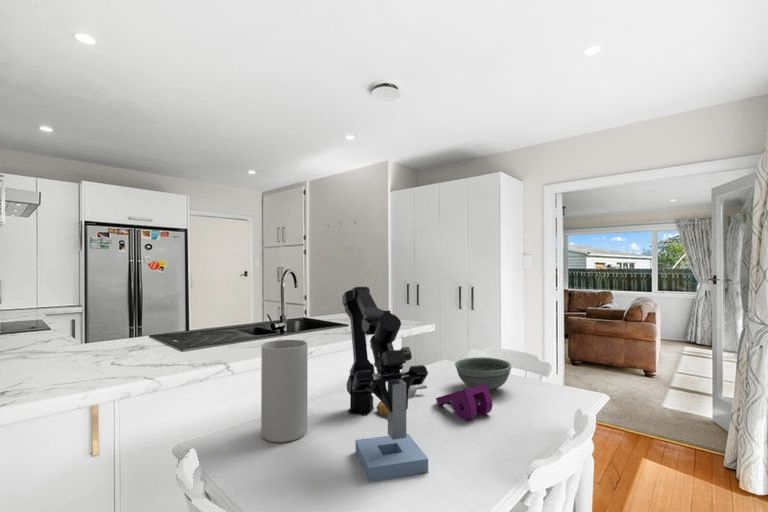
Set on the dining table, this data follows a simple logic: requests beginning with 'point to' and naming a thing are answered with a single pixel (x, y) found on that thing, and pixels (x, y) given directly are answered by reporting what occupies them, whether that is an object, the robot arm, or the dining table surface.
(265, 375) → the cylinder vase
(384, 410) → the pastry
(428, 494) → the dining table surface
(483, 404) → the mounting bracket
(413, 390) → the bunny figurine
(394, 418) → the grey tapered peg
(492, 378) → the bowl
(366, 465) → the blue square washer
